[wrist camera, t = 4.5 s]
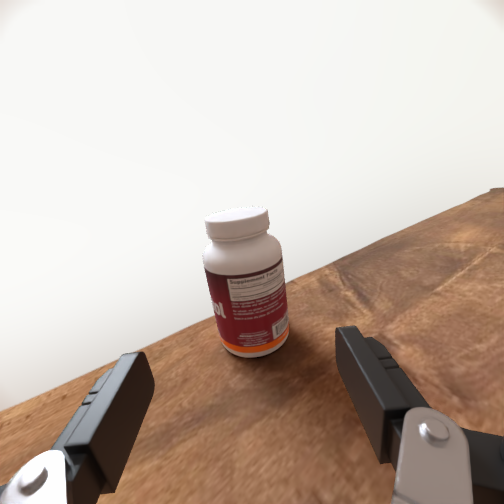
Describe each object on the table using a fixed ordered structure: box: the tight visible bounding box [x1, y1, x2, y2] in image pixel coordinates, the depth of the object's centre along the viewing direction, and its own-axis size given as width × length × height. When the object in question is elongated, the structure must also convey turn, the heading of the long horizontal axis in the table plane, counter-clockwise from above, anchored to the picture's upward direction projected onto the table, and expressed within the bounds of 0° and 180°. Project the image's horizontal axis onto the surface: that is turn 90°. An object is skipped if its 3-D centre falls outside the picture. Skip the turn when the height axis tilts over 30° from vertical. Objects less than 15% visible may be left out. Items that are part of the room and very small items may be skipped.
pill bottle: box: [203, 207, 289, 358], centre depth 20 cm, size 6×6×11 cm
